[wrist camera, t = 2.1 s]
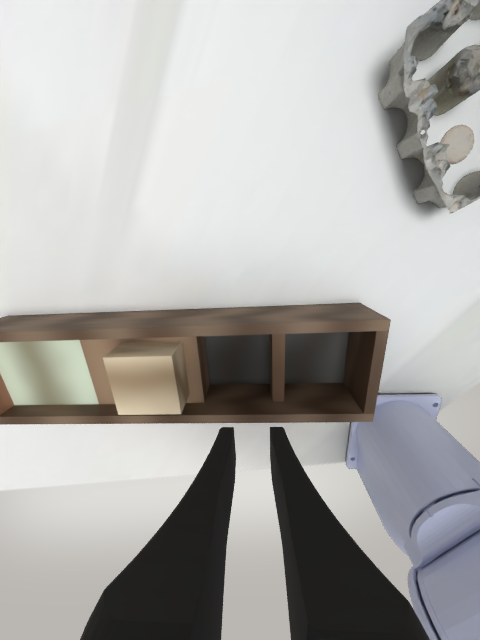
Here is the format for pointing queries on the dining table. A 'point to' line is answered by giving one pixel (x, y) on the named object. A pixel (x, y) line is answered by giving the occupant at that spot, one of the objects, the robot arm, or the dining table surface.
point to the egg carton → (436, 100)
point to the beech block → (148, 378)
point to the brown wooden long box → (200, 364)
